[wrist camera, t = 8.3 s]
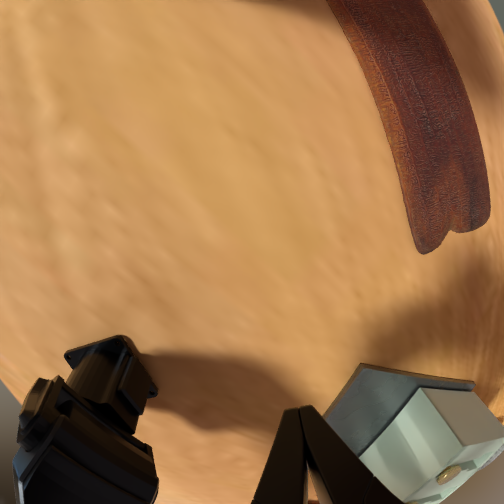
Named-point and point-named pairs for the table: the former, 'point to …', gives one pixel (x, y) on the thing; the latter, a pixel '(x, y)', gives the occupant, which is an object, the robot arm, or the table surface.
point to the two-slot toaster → (434, 444)
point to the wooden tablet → (421, 115)
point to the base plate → (382, 406)
